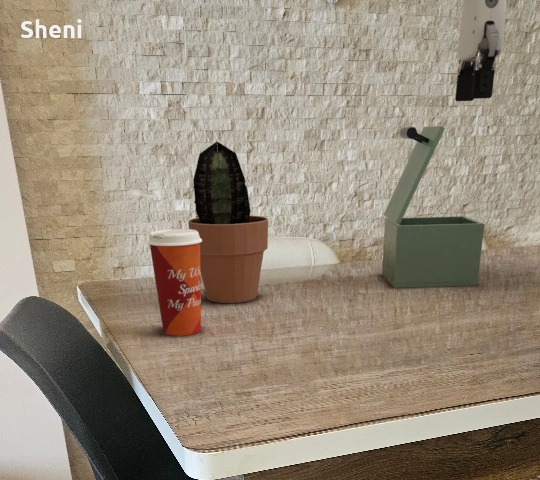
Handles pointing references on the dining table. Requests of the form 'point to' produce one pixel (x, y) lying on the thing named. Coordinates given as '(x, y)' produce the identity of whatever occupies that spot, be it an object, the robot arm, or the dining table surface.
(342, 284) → the dining table surface
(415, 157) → the bin lid
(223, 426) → the dining table surface
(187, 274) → the paper cup
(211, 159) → the potted plant
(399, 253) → the waste bin
